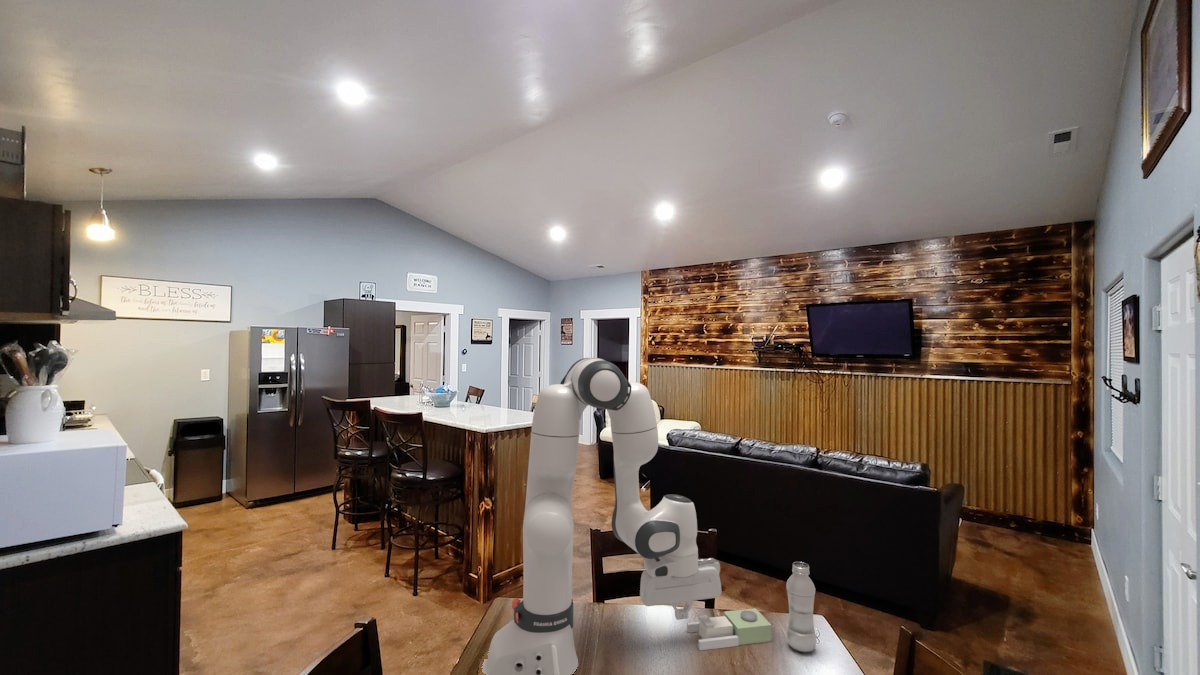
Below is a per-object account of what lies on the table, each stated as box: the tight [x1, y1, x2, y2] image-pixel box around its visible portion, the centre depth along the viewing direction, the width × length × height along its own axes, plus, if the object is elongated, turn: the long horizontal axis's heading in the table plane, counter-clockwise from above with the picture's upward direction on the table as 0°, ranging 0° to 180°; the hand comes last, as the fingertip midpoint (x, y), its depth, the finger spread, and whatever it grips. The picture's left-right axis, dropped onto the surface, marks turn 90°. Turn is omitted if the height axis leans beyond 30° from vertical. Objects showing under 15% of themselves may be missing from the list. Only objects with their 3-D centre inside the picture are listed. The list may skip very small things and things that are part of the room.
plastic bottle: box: [785, 561, 817, 653], centre depth 120 cm, size 6×7×20 cm
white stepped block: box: [698, 614, 733, 639], centre depth 124 cm, size 7×4×5 cm, turn 102°
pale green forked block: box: [686, 607, 773, 651], centre depth 125 cm, size 19×8×5 cm, turn 101°
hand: (681, 617), depth 122 cm, fingers closed
